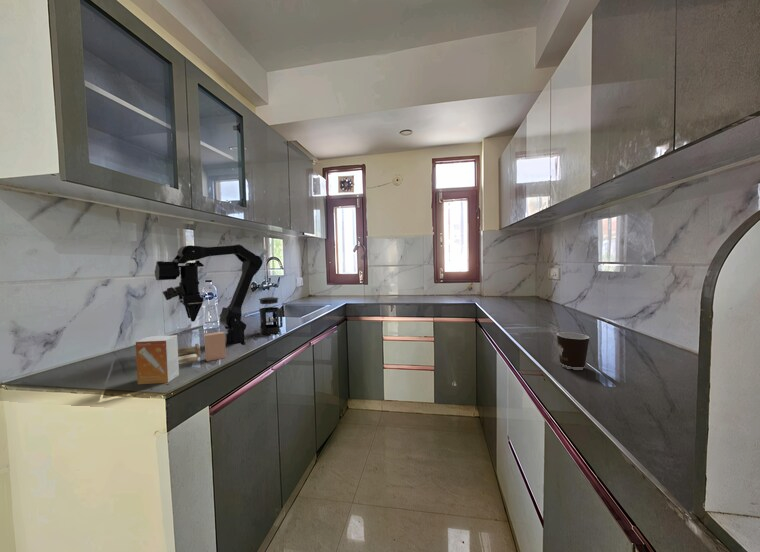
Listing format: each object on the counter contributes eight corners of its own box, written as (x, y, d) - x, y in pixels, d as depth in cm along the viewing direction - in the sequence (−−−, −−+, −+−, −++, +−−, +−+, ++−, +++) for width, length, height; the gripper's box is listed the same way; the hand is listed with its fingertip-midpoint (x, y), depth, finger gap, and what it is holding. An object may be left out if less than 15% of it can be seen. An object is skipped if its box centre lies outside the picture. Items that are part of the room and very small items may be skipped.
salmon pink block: (224, 356, 111) (223, 331, 110) (225, 358, 108) (224, 333, 108) (205, 359, 107) (204, 334, 107) (206, 361, 105) (205, 335, 104)
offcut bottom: (196, 361, 109) (196, 357, 109) (198, 365, 105) (198, 361, 105) (175, 365, 105) (174, 361, 105) (176, 369, 101) (175, 365, 101)
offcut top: (195, 357, 109) (195, 353, 109) (197, 360, 105) (197, 356, 105) (176, 361, 105) (176, 357, 105) (178, 364, 102) (178, 359, 102)
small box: (137, 387, 86) (134, 341, 85) (150, 378, 92) (148, 336, 91) (168, 385, 87) (166, 340, 86) (179, 376, 93) (177, 334, 92)
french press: (254, 334, 145) (252, 286, 144) (265, 330, 154) (264, 285, 153) (276, 335, 143) (275, 286, 142) (286, 331, 152) (285, 285, 151)
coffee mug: (589, 374, 90) (590, 340, 89) (555, 369, 94) (556, 337, 94) (587, 362, 99) (588, 332, 99) (557, 358, 104) (557, 329, 104)
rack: (197, 353, 117) (197, 343, 116) (200, 358, 110) (200, 347, 110) (169, 358, 111) (168, 347, 111) (170, 364, 105) (170, 352, 104)
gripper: (162, 279, 118) (164, 319, 119) (165, 281, 103) (167, 326, 104) (195, 277, 125) (197, 315, 126) (202, 279, 110) (204, 322, 111)
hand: (191, 319), depth 116 cm, fingers open, 9 cm apart
